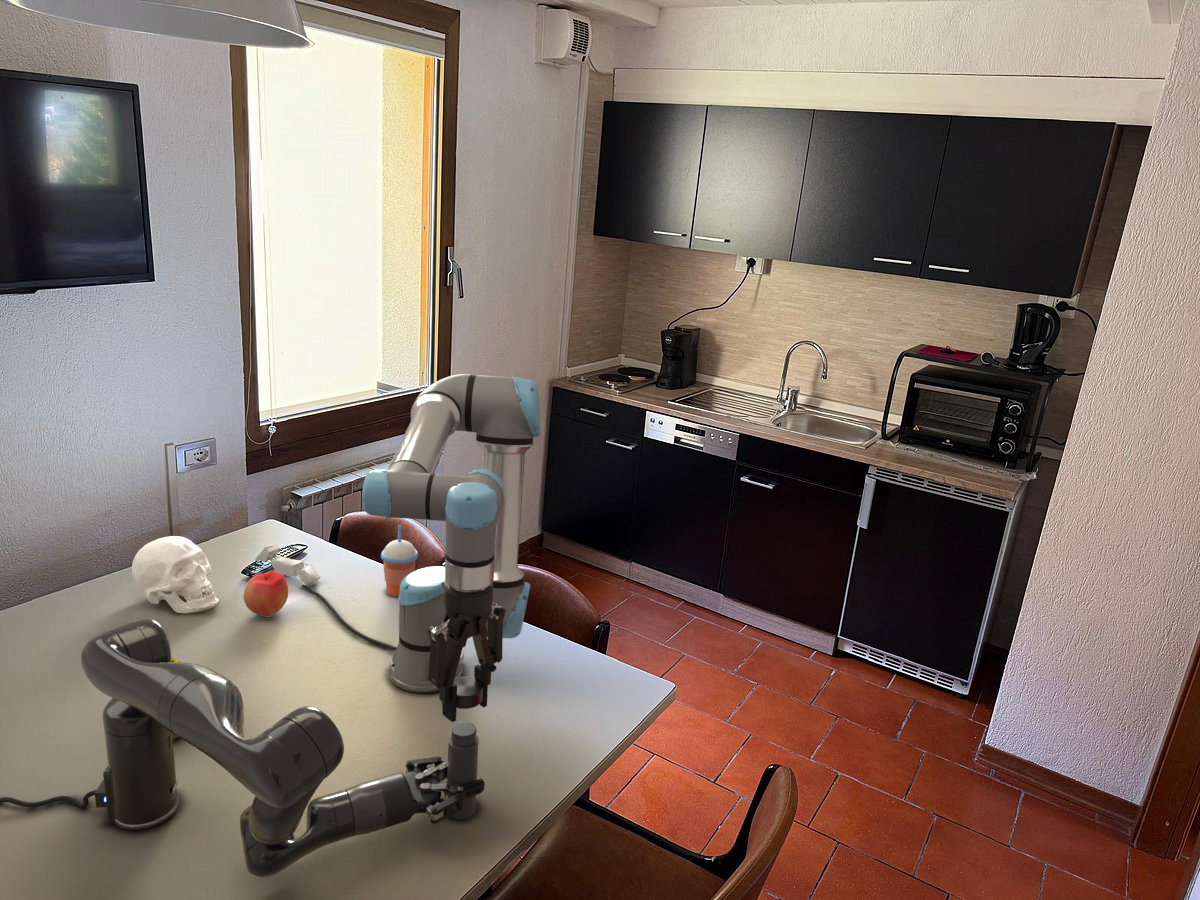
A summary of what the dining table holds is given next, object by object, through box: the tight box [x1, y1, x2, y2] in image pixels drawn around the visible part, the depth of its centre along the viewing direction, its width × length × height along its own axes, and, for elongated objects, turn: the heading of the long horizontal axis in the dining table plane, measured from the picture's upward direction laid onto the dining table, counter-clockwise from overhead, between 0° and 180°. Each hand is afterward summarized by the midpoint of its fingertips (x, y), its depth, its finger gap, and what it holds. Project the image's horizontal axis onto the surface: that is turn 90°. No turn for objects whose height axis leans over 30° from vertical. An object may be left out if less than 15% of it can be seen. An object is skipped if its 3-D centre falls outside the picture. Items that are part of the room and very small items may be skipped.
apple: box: [243, 570, 289, 618], centre depth 199 cm, size 10×10×10 cm
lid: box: [453, 675, 483, 710], centre depth 138 cm, size 6×6×2 cm
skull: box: [131, 535, 220, 615], centre depth 201 cm, size 13×22×16 cm, turn 73°
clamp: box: [254, 544, 322, 587], centre depth 219 cm, size 20×4×7 cm, turn 62°
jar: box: [446, 720, 480, 820], centre depth 142 cm, size 5×5×16 cm
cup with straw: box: [380, 524, 419, 597], centre depth 214 cm, size 9×9×18 cm
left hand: (476, 774), depth 144 cm, fingers closed on jar, 5 cm apart
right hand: (464, 709), depth 139 cm, fingers closed on lid, 5 cm apart
